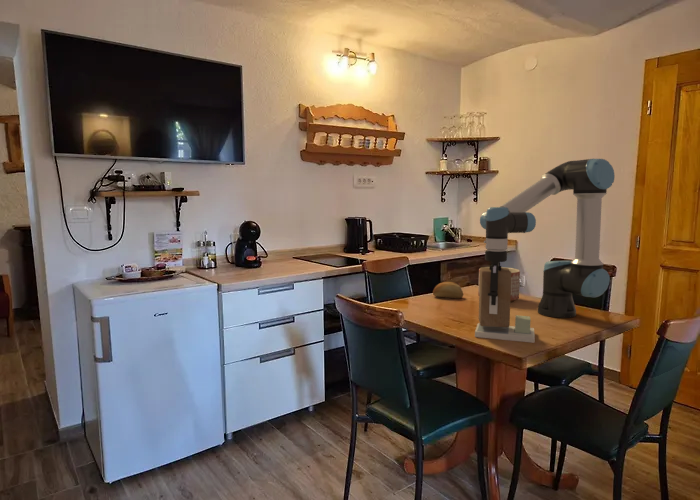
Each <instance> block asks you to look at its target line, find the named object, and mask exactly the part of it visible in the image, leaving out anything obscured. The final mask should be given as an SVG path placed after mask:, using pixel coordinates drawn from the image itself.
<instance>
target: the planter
mask: <svg viewBox="0 0 700 500" xmlns="http://www.w3.org/2000/svg"><path fill="white" fill-rule="evenodd" d="M487 267H488V268H490V266H487ZM501 268H508V269H509V270H510V272H511V298H510V303H513V302H514V301H516V300H518V299H519V298H520V282H521V281H520V279H521V277H520V276H521V270H520V269H518V268H513V267H504V266H501ZM479 287H480V268H479V269H478V291H477V295H478V297H479Z"/></svg>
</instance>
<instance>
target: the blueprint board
mask: <svg viewBox="0 0 700 500" xmlns="http://www.w3.org/2000/svg"><path fill="white" fill-rule="evenodd" d="M474 337H475V338H480V339H481V338H482V339H492V340H503V341H513V342H524V343H533V344H534V343H536V342H535V340H536V338H535V337H536V335H535V328H534V327H530V334H528V333H517V332H515V325H509V327H490V326H481V325H480V322H478V323H477V324H476V328H475V330H474Z"/></svg>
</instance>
